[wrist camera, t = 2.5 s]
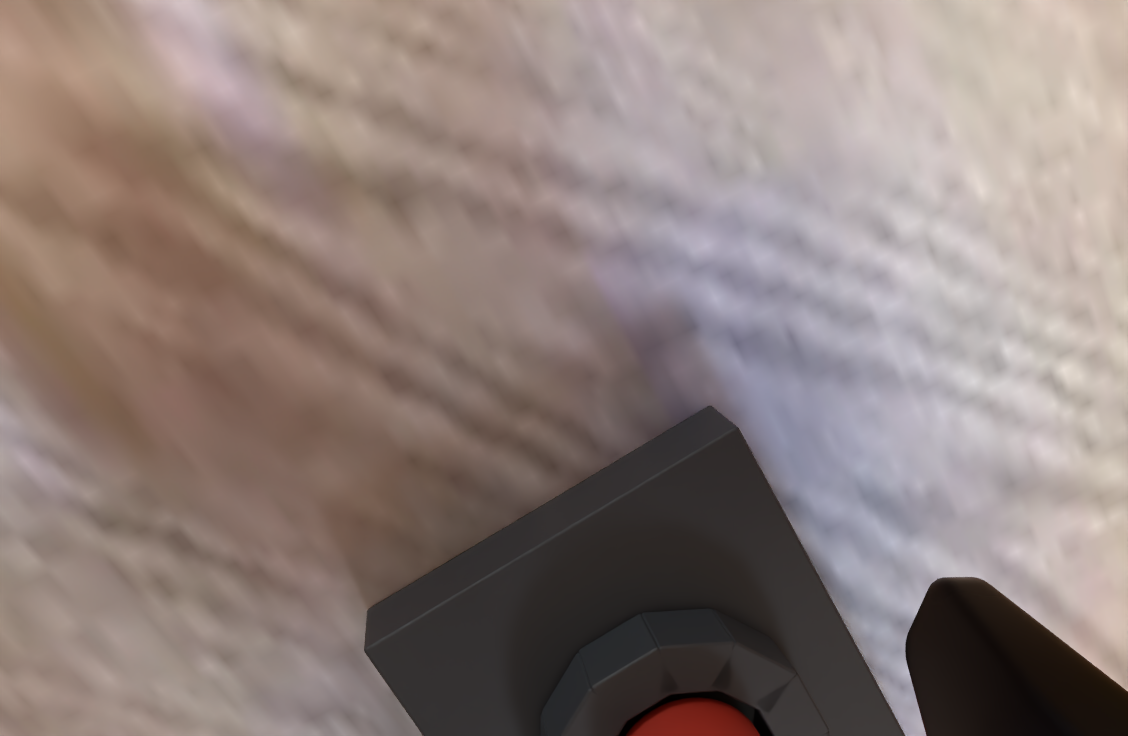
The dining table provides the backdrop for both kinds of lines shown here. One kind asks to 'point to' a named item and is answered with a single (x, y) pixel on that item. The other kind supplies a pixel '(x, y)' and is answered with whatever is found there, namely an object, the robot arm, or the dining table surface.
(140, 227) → the dining table surface
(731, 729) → the power button
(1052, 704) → the robot arm
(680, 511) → the switch block
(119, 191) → the dining table surface
